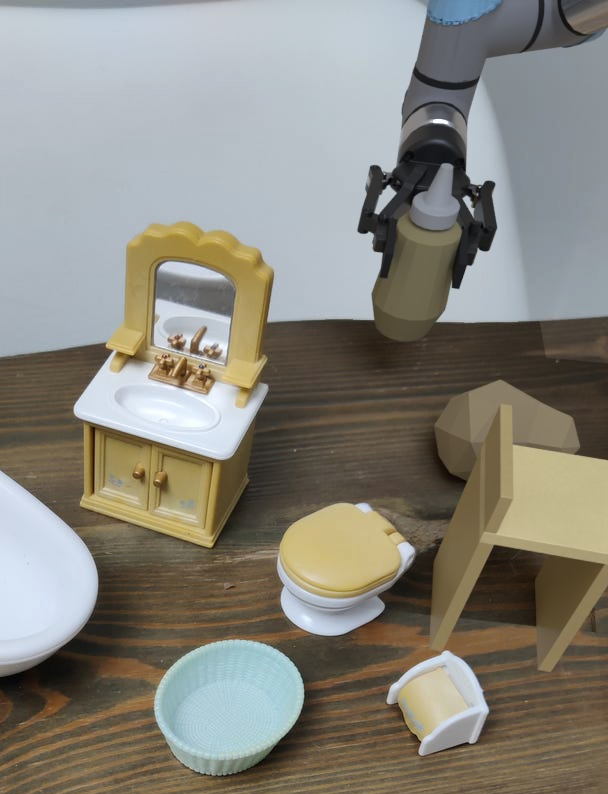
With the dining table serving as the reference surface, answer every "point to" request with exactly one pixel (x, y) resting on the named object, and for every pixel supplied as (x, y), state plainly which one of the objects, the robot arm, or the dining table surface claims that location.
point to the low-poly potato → (473, 418)
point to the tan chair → (527, 535)
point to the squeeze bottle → (420, 263)
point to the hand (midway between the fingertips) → (422, 271)
